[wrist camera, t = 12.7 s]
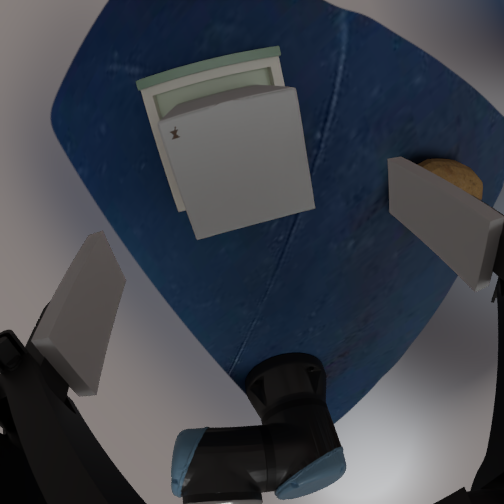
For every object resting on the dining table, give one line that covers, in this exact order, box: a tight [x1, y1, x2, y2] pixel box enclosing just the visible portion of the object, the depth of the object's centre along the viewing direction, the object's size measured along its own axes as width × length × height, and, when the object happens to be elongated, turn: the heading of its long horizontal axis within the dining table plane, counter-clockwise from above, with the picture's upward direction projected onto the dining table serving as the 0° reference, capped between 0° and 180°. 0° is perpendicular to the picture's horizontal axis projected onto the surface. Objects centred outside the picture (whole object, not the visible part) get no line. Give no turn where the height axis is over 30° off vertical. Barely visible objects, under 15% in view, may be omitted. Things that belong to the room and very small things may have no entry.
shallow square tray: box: [136, 46, 285, 212], centre depth 31 cm, size 15×14×4 cm
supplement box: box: [157, 85, 315, 240], centre depth 26 cm, size 9×9×15 cm
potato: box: [417, 159, 483, 200], centre depth 36 cm, size 10×14×8 cm
